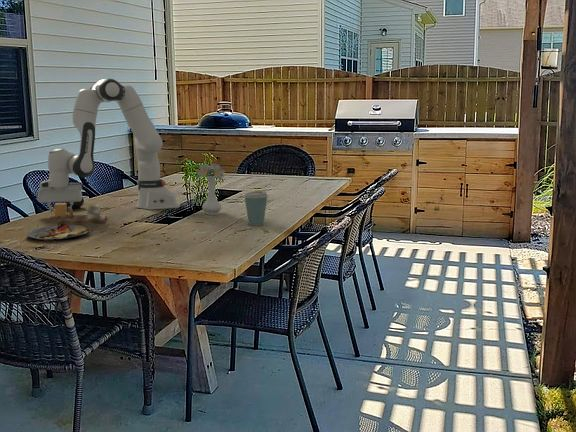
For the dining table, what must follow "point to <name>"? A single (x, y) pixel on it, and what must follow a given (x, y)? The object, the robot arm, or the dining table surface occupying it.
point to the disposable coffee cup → (256, 207)
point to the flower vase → (211, 187)
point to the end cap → (75, 204)
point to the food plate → (58, 232)
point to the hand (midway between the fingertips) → (60, 211)
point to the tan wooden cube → (60, 209)
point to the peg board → (84, 217)
